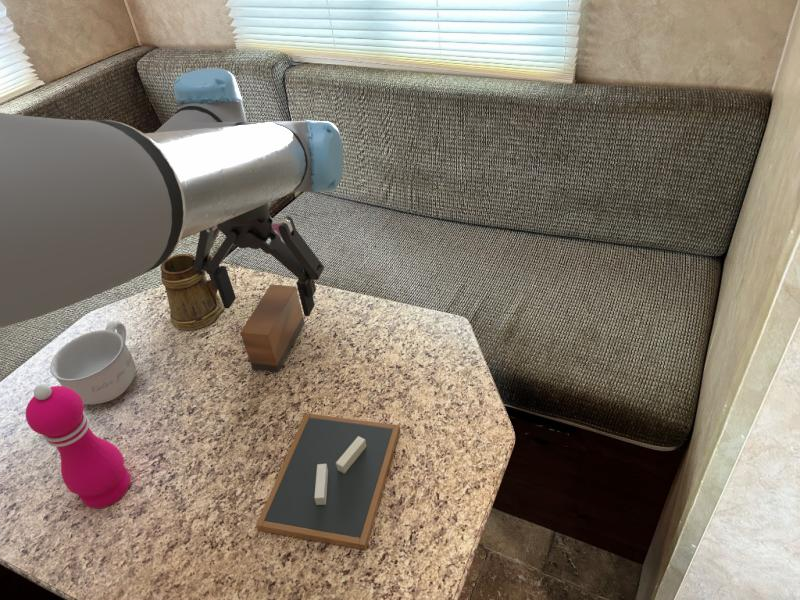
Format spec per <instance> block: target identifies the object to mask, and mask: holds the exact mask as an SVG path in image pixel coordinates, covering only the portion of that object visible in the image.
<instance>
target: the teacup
mask: <svg viewBox="0 0 800 600" xmlns="http://www.w3.org/2000/svg"><path fill="white" fill-rule="evenodd" d="M126 340H127V328H126V326H125V325H124V323H122V322H121V321H119V320H118V321H117V320H115V321H114V320H113V321H110V322H108V324H107V325H106V327H105V329H100V330H94V331H90V332H86V333H83V334H81V335H79V336H77V337H75V338H73V339H72V340H70V341H68V342H67V343H66V344H64V345H63V346H62V347H61V348H60V349H59V350H58V351H57V352H56V353H55V355H54V356H53V357H52V360H51V361H50V365H49V370H50V374H51V376H52V377H54V378H55V379H56V380H57V382H58V383H59V385H60V386H64V387H68V388H70V389H73V390H74V391H75V392H77V394H78V395H79V396H80V397H81V399H82V401H83V405H101V404H105V403H108V402H111V401H113V400H115V399H117V398H118V397H120V396H121V395H123V394H124V393H125V392H126V390H127V389H128V388H129V387H130V385H131V384H132V382H133V380H134V378H135V375H136V363H135V360H134V357H133V355H132V354H131V352H130V349H129V348H128V346H127V344H126Z"/></svg>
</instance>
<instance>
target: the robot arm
mask: <svg viewBox="0 0 800 600" xmlns="http://www.w3.org/2000/svg"><path fill="white" fill-rule="evenodd" d="M173 91H174V92H173V93H174V101H175V104H176V105H177V107H178V109H177V110H176V111H175V112H174V114H173V115H172V116H171V117H170V118H169V119H167V121H165V122H164V123H163V124H162V125H161V126H160V127H159V128H158V129H156V130H155V131H154V132H147V133H144V132H142V131H141V130H139V129H137V128H135V127H133V126H132V125H129V124H126V123H123V122H120V121H116V120H111V119H65V118H52V117H42V116H31V115H21V114H15V113H6V112H0V329H1V328H5V327H7V326H13V325H16V324H20V323H23V322H26V321H30V320H34V319H36V318H39V317H42V316H44V315H47V314H50V313H53V312H56V311H59V310H62V309H65V308H67V307H70V306H73V305H75V304H77V303H79V302H82V301H85V300H87V299H89V298H93V297H94V296H97V295H99V294H102V293H105V292H107V291H109V290H112V289H115V288H117V287H119V286H121V285H124V284H126V283H128V282H131V281H133V280H134V279H136V278H138V277H141V276H143V275H145V274H147V273H148V272H151V271H153V270H155V269H157V268H159V267H161V265H162V263H164V262H165V261H166V260H167V259H168V258H170V257H172V256H173V253H174V252H175V251H176V249H177V248H178V246H179V244H180V242H181V241H182V240H184V239H187V238H188V237H189V238H190V237H191V236H194V235H197V234H198V233H199V237H198V241H197V246H196V250H195V251H196V252H195V255H194V256H195V262H194V268H195V269H196V270H198V271H200V270H201V269H202V270H204V271H205V272H206V273H205V274H207V275H208V276H209V280H211V282H212V285H213V287H214V288H215V289H218V291H217V292H218V295H219V298H220V300H221V302H222V305H223V309H228V310H229V309H230V308H231V307H232V305H233V304H234V302H235V301H236V299H237V297H236V293H235V291H234V288H233V285H232V280H231V278H230V275H229V271H228V269H227V267H226V265H221V264H222V262H223V260H224V259H225V258H226V256H227V255H228V253H229V252H230V250H231V248H232V247H233V245H235V246H236V247H238V249H246V248H248V249H253V250H259V249H260V250H261V251H263V253H265V254H267V255H271V256H272V257H274V259H275V260H277V262H279V263H280V264H281V265H282V266H283V267H285V268H286V270H288V271H289V272H290V273H292V275H294V277H296V278H297V279H298V280H297V281H296V282H295V283H296V289H297V293H298V297H299V301H300V305H301V309H302V313H303V317H310V315H311V313H312V311H313V309H314V308H315V305H316V304H315V301H314V295H315V294H316V291H317V287H316V282H315V281H318V280H319V279H320V277H321V276H322V274H323V271H324V269H325V266H324V264H323V263H322V262H321V260H320V259H319V258H318V257H317V255H316V254H315V253H314V251H313V250H312V249H311V247H310V246H309V245H308V243H307V242H306V241H305V239H304V238H303V236H302V235H301V234H300V233H299V231H298V230H297V229H296V225H295V222H294V219H293V218H292V217H291V216H290V215H289V216H288V215H287V216H285V217H284V218H283V219H278V220H274V219H273V218H272V217H271V215H270V211H269V203H271V202H274V201H276V200H279V199H281V198H282V197H286V196H288V195H292V194H293V193H301V192H302V193H303V192H305V193H306V192H307V193H310V194H315V193H316V192H331V191H334V190H336V189H337V188H338V186H339V185H340V183H341V181H342V177H343V172H344V146H343V140H342V135H341V133H340V130H339V129H338V128H337V126H336V125H335V124H334V123H333V122H330V121H325V120H324V121H323V120H322V121H320V120H311V119H305V120H283V121H281V120H279V121H278V120H277V121H276V120H275V121H248V120H247V115H246V112H245V107H244V105H243V104H244V100H243V98H242V96H241V92H240V90H239V86H238V84H237V81H236V77H235V76H234V74H233V73H232V72H230V71H229V70H226V69H224V68H219V67H210V68H209V67H207V68H199V69H196V70H192V71H189V72H185V73H184V74H182V75H180V76H179V77H177V78H176V79H175V81H174V83H173ZM216 228H218V229H219V230H220V233H222V234H223V235H224V236H225V238H224V240H223V242H222V243H221V245H220V246H219V248H218V250H217V251H216V253H215V255H214V256H213V259H212V260H209V255H211V250H212V248H211V245H212V240H213V235H214V231H215V229H216ZM269 239H270V242H269V243H268V240H269ZM210 249H211V250H210ZM219 266H220V268H219Z"/></svg>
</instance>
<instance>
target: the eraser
mask: <svg viewBox="0 0 800 600" xmlns="http://www.w3.org/2000/svg"><path fill="white" fill-rule="evenodd" d="M304 325H305V318H304V313H303V308H302V304H301V300H300V296H299V292H298V288H297V285H296V286H295V285H283V284H273V283H271V284H269V286H268V288H267V289H266V291H265V292H264V294H263V295H262V297H261V299H260V301H259V302H258V303H257V305H256V307H255V309H253V311H252V313H251V314H250V316H249V318H248V319H247V321H246V323H245V324H244V326H243V327H242V329H241V330H240V332H239V333H240V336H241V338H242V342H243V345H244V349H245V351H246V354H247V357H248V360H249V363H250V366H251V370H258V371H264V372H265V371H266V372H274V373H280V371H281V369H282V367H283V365H284V363H285V361H286V359H287V357H288V355H289V353H290V352H291V350H292V348H293V346H294V344H295V342H296V340H297V338H298V336H299V334H300V332H301V330H302V328H303V327H304Z"/></svg>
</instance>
